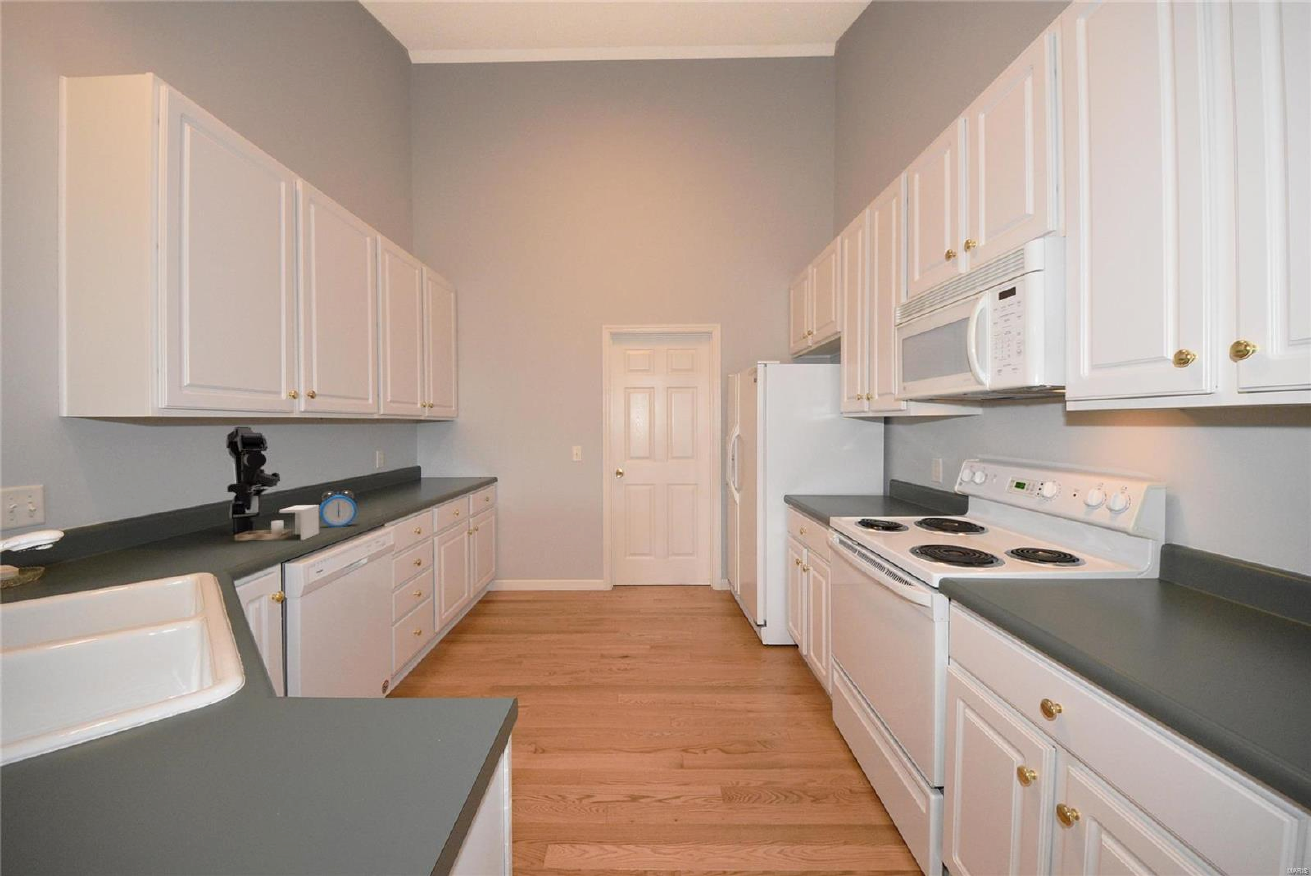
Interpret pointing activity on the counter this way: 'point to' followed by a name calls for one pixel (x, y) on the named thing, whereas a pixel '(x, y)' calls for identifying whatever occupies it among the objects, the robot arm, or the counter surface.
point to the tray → (262, 535)
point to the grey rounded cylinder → (253, 505)
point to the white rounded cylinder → (277, 527)
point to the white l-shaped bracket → (305, 519)
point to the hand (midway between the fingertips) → (251, 509)
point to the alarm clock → (337, 509)
